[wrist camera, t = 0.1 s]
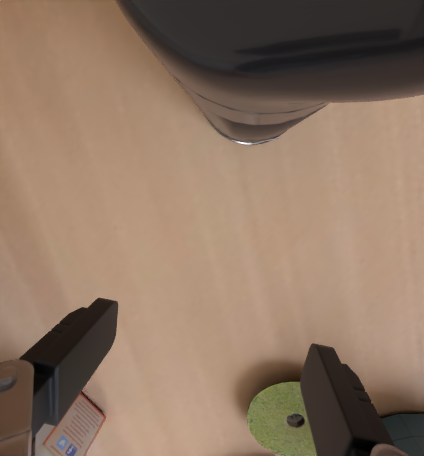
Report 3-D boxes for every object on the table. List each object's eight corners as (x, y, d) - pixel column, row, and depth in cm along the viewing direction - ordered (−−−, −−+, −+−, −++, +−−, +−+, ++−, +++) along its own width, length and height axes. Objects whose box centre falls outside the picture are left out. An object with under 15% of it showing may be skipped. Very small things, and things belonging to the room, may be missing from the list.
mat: (228, 401, 33) (227, 415, 31) (297, 352, 30) (300, 365, 28) (288, 454, 34) (291, 471, 32) (360, 412, 31) (368, 428, 29)
